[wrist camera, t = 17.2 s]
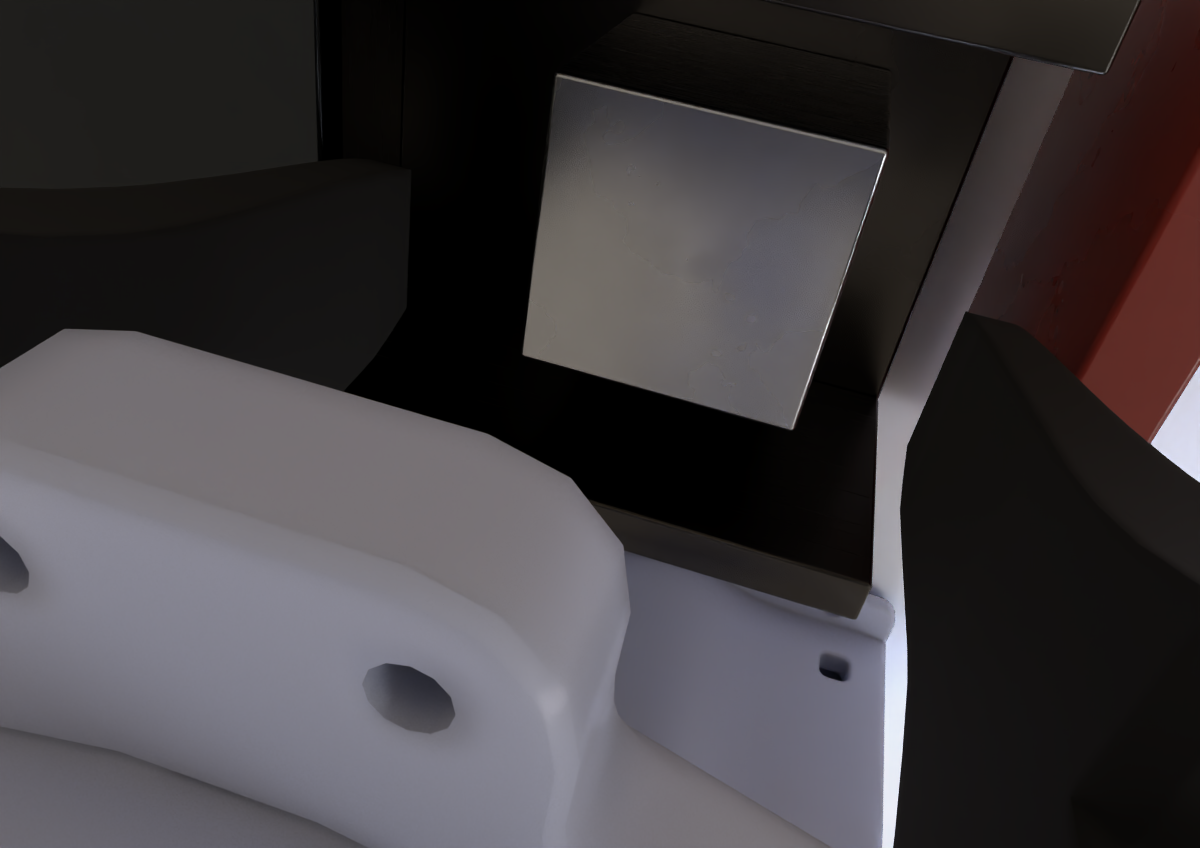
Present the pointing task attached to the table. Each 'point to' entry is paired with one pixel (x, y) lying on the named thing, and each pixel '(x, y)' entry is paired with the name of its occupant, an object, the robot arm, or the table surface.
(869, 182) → the steel block
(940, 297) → the table surface
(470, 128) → the drawer
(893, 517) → the table surface
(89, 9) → the black storage chest
